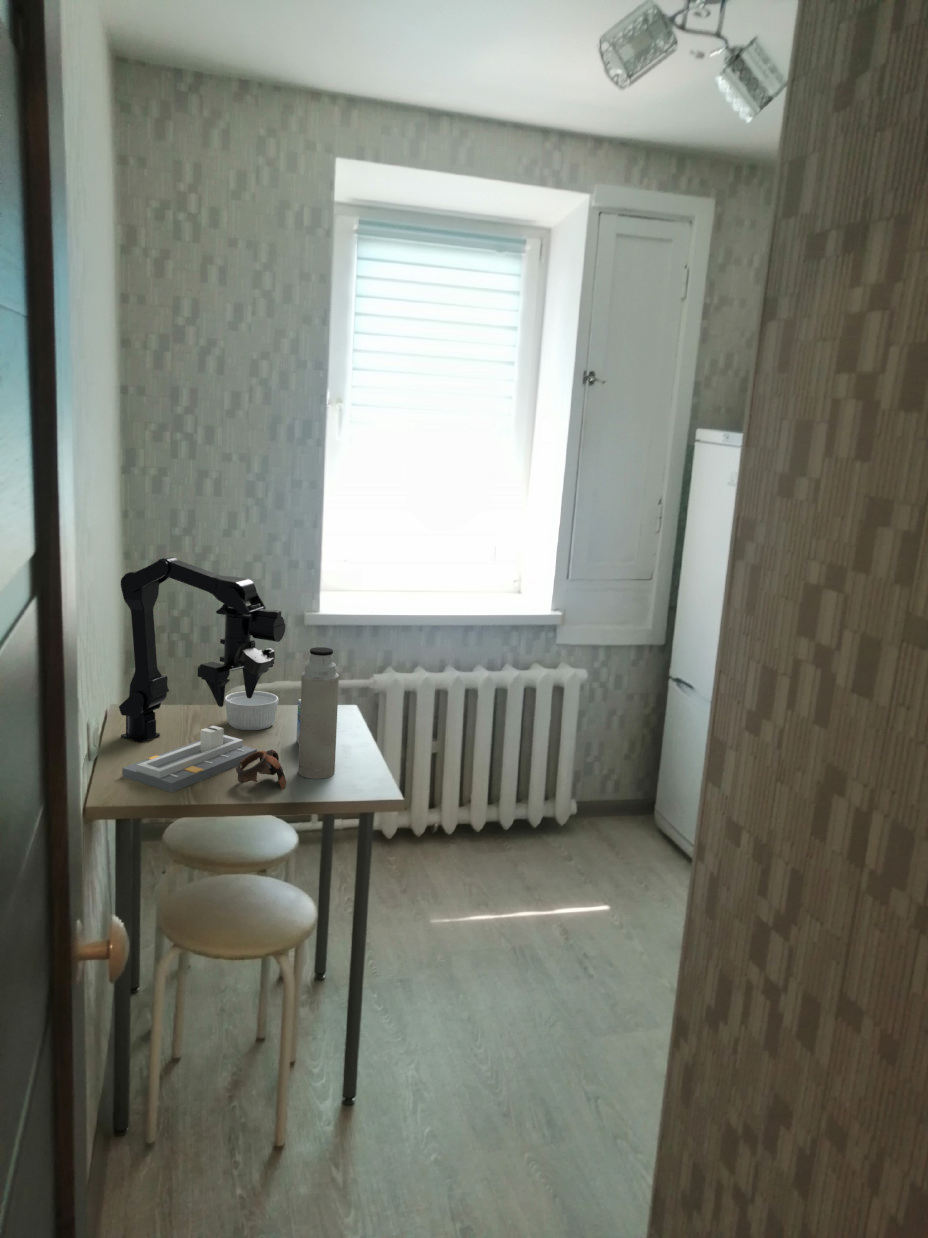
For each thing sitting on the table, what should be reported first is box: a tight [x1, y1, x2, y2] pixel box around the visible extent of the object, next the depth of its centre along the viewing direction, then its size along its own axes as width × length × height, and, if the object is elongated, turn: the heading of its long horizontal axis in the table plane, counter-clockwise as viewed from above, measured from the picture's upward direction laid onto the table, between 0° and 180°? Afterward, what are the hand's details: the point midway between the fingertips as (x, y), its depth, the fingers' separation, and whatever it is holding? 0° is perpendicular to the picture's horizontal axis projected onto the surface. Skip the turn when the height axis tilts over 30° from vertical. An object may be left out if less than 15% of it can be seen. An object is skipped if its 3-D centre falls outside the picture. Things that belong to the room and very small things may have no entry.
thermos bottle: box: [297, 646, 340, 780], centre depth 200 cm, size 8×8×28 cm
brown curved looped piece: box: [235, 749, 287, 790], centre depth 194 cm, size 12×10×8 cm
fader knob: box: [199, 725, 224, 752], centre depth 205 cm, size 3×4×5 cm
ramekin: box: [224, 690, 279, 731], centre depth 231 cm, size 13×13×7 cm
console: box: [121, 734, 258, 793], centre depth 200 cm, size 14×26×4 cm, turn 152°
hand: (235, 702), depth 208 cm, fingers open, 9 cm apart
